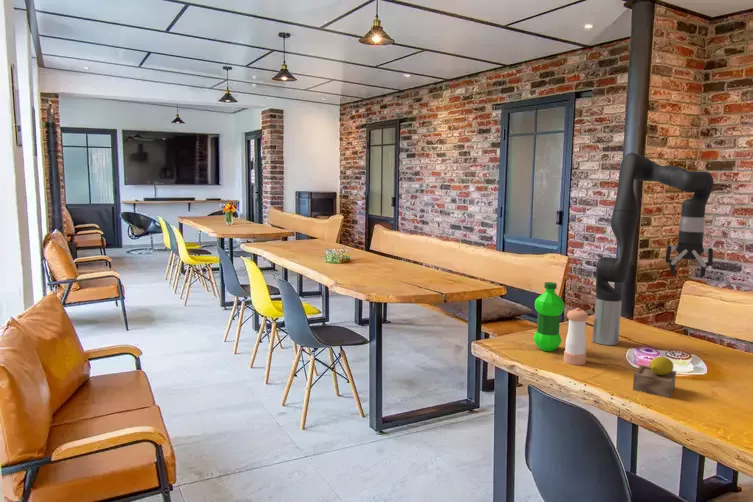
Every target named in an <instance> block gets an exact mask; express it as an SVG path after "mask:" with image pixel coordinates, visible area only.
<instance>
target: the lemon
mask: <svg viewBox="0 0 753 502" xmlns="http://www.w3.org/2000/svg"><path fill="white" fill-rule="evenodd" d="M649 366H650V368H651V370H652V372H653V373H655V374H657V375H661V376H662V375H667V374H669V373H670V372H671V371H674V363H673V361H672V360H671V359H670V358H668V357H666V356H656V357H655V358H653V359H652V360H651V362H650V363H649Z"/></svg>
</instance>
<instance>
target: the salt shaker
mask: <svg viewBox="0 0 753 502" xmlns="http://www.w3.org/2000/svg"><path fill="white" fill-rule="evenodd" d="M566 317H567V319H568V330H567V334H566V339H565V350H563V362H564V363H566V364H569V365H573V366H583V365H585V364H587V363H586V362H587V352H586V349H587V347H586V346H587V340H586V321H588V320H589V314H588V313H587V312H586V311H584V310H583V309H581V308H580V307H576V308H575V309H571V310H568V311H567V313H566Z"/></svg>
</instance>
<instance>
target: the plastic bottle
mask: <svg viewBox="0 0 753 502" xmlns="http://www.w3.org/2000/svg"><path fill="white" fill-rule="evenodd" d="M543 287H544V289H545V291H544V292H543V293H542V294H541V295H539V296H538V297H537V298H536V299H535V301H534V308H535V311H536V312H537V319H536V331H535V333H534V334H533V340H534V343H535V345H536V346H537V347H538V348H539V349H540V350H541V351H545V352H553V351H555V350H556V349H557V348H558V347H560V345H561V343H562V338H561V335H560V324H561V321H560V320H561V314H562V313H564V310H565V303H564V300H563V299H562V298H561V297H560V296H559V295H558V294H557V293H556V291H555V290H556V289H557V287H558V286H557V282H551V281H547V282H544V286H543Z"/></svg>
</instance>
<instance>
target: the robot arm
mask: <svg viewBox="0 0 753 502" xmlns="http://www.w3.org/2000/svg"><path fill="white" fill-rule="evenodd" d="M635 181H640V182H657V183H660V184H662V185H666V186H670V187H674V188H676V189H677V190H679V191H681V192H683V193H684V192H685V193H693V195H692V197H690V198H688V199H684V200H683V202H682V204H681V211H680V212H681V213H680V214H681V215H680V219H679V226H678V237H677V245H675V246H674V245H671V244H668V245H667V246H666V252H665V253H666V254H665V260H664V261H665V263H667V264H670V268H669V273H670V274H671V276H674V277H675V274H676V273H675V271H676V263H678V261H680V260H681V259H683V260H692V261H693V260H697V261H698V262H699V264H700V270H699V272H700V273H699V278H701V279H703V277H705V276H706V268H707V267H711V266H713V261H714V258H713V257H714V250H713V248H712V247H706V248H705V247H704V246H703V245H704V244H703V243H704V235H705V227H706V225H705V223H706V222H705V216H706V206H707V203H708V200H709V199H710V196H711V193H712V190H713V188H714V185H715V184H714V178H713V175H712V174H711V173H710V172H708V171H700V170H698V171H694V170H692V171H691V170H689V171H688V169H686V168H683V167H679V166H675V165H669V164H668V165H661V164H658V163H656V162H655V161H654V160H653V161H652V160H651V159H649V158H648V157H646V156H643V155H641V154H638V153H635V152H629V153H627V154H625V156H624V157H623V159H622V160H621V163H620V167H619V174H618V182H617V192H616V198H615V202H614V207H613V211H612V214H611V219H610V226H611V227H610V228H611V230H612V233H613V235H614V237H615V238H616V241H617V244H618V246H619V247H618V248H619V256H618V258H617V257H609V256H608V257H607V256H602V257H600V258H599V259H598V260H597V262H596V263H597V264H596V267H595V269H596V271H595V306H594V317H593V327H592V328H593V329H592V340H591V341H592V343H596V344H599V345H605V346H614V345H618V344H619V340H620V325H621V314H622V313H621V312H622V298H623V293H622V292H621V291H620V290H618V289H616V288H614V287H613V286H612V285H611V284H610V283H615V284H616V283H617V284H624V283H625V282H626V280H627V279H628V276H629V271H630V264H631V255H632V248H633V243H634V242H633V241H634V237H635V235H636V234H635V233H636V229H637V224H638V219H639V215H640V208H639V203H638V200H637V197H636V194H635V189H634V182H635ZM674 251H676V252H677V254H676V256H674V258H673V259H670V258H671V253H674ZM704 252H705V254H706V255H707V262H705V261H704V259H702V257H701V254H702V253H704Z"/></svg>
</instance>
